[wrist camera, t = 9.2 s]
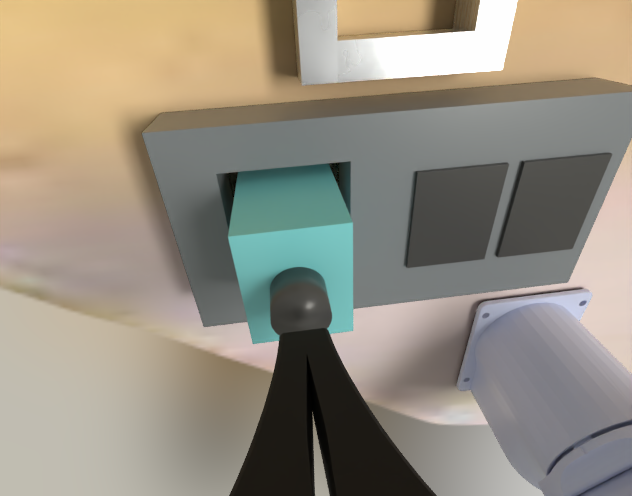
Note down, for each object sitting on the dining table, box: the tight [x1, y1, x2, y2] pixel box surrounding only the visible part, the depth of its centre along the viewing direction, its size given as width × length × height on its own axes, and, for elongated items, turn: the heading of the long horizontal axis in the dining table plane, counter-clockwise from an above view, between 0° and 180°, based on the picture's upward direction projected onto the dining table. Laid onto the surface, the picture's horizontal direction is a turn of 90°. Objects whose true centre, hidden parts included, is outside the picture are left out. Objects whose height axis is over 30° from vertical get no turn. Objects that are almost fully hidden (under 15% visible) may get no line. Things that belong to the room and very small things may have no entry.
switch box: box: [142, 78, 632, 327], centre depth 18 cm, size 10×20×3 cm, turn 93°
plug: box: [228, 163, 353, 344], centre depth 15 cm, size 5×4×8 cm
